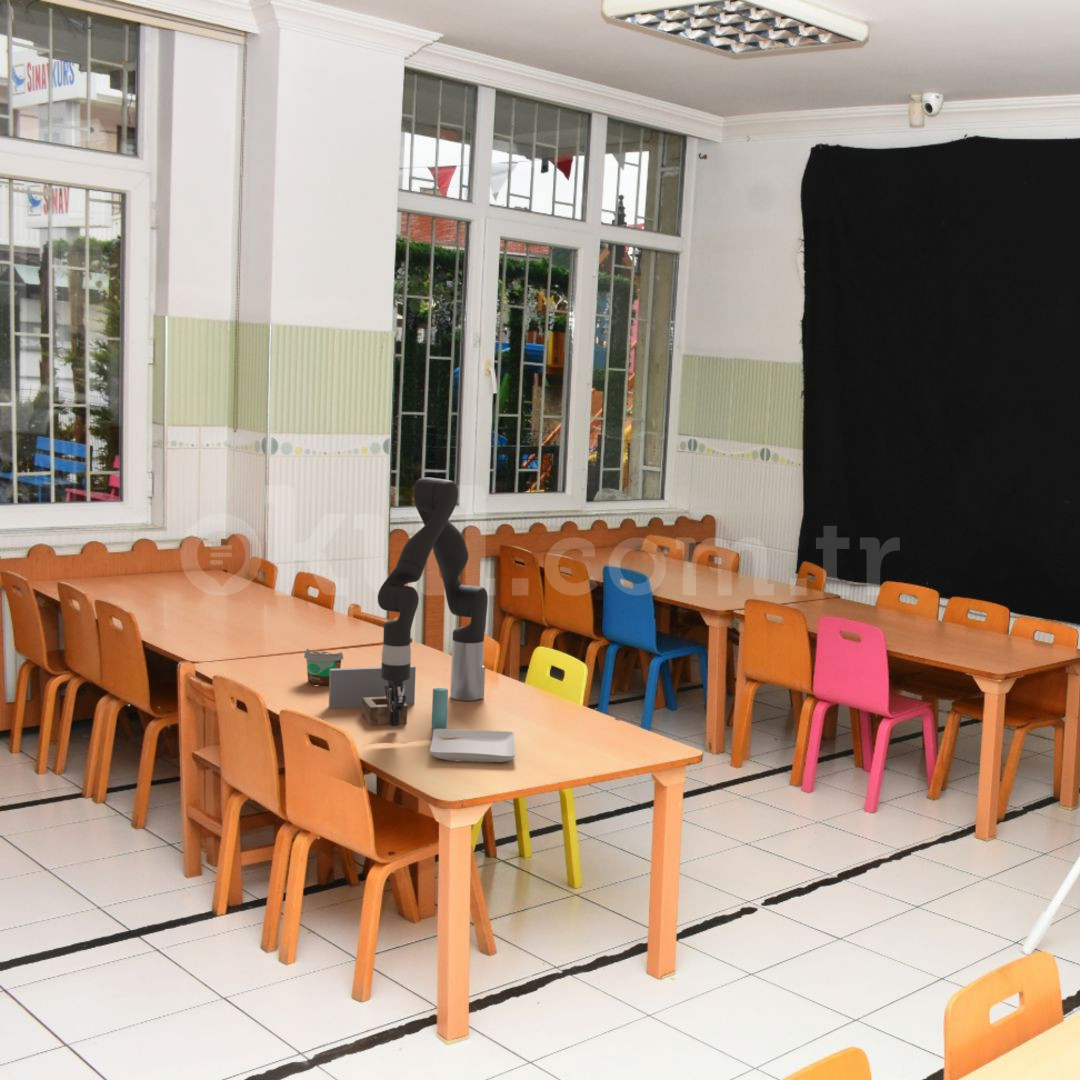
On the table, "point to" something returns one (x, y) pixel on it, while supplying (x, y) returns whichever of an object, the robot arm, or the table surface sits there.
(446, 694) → the teal rounded bar piece
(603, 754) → the table surface
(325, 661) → the food container
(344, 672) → the backstop wall
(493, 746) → the salad plate
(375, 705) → the block
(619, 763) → the table surface
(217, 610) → the table surface
